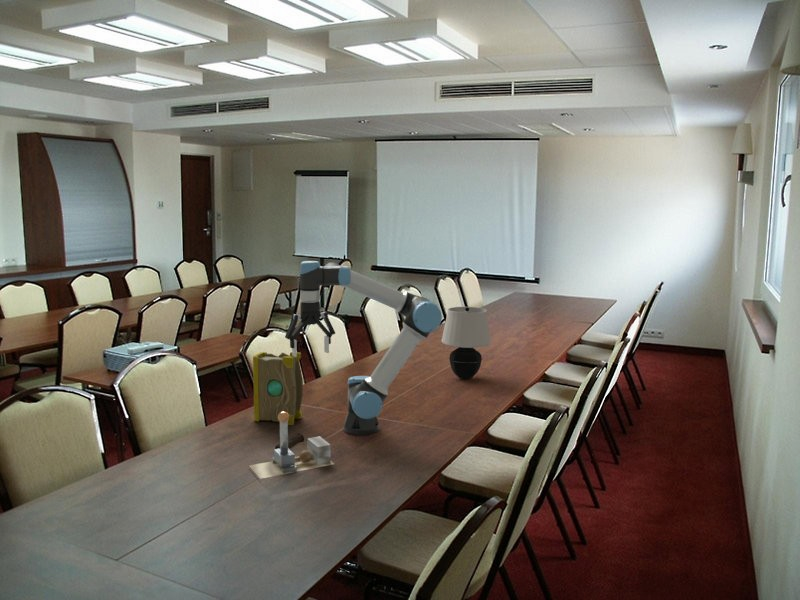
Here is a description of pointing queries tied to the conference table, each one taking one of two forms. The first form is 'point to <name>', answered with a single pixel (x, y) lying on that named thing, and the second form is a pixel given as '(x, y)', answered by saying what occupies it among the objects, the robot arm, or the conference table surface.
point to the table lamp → (466, 339)
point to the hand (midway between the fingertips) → (310, 354)
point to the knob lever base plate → (298, 460)
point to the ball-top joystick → (284, 446)
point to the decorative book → (277, 386)
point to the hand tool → (293, 441)
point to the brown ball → (305, 456)
